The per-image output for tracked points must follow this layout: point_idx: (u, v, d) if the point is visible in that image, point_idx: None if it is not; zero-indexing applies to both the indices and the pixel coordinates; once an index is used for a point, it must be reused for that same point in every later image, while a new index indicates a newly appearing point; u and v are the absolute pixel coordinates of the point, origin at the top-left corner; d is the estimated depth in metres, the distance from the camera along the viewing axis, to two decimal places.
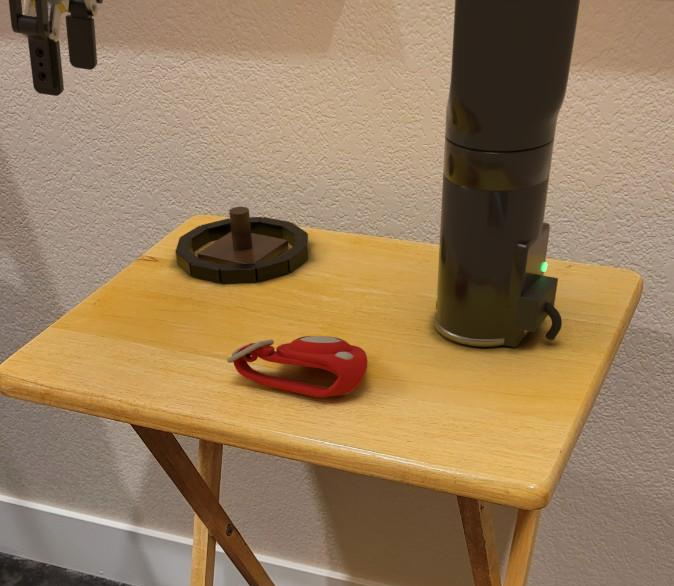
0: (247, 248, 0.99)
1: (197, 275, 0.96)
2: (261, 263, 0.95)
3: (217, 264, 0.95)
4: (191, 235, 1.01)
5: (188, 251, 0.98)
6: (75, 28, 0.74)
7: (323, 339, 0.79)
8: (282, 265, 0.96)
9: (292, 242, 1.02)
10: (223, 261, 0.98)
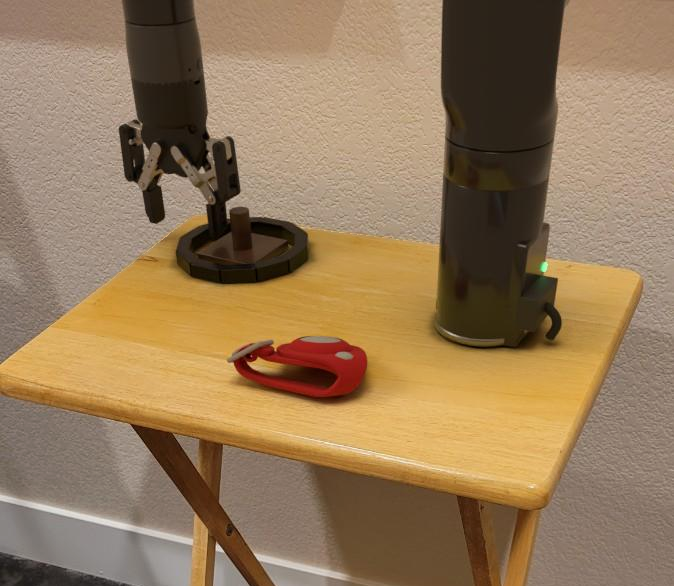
0: (247, 248, 0.99)
1: (197, 275, 0.96)
2: (261, 263, 0.95)
3: (217, 264, 0.95)
4: (191, 235, 1.01)
5: (188, 251, 0.98)
6: None
7: (323, 339, 0.79)
8: (282, 265, 0.96)
9: (292, 242, 1.02)
10: (223, 261, 0.98)
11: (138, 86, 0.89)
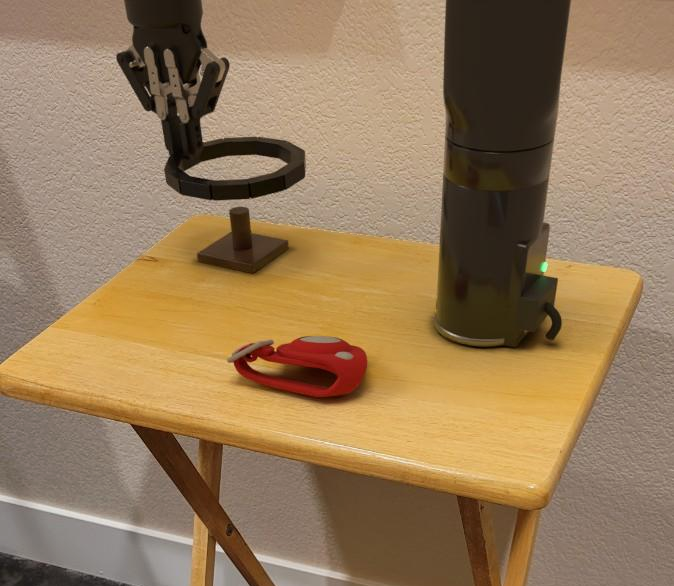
0: (247, 248, 0.99)
1: (186, 193, 0.90)
2: (255, 178, 0.89)
3: (208, 180, 0.89)
4: (181, 154, 0.96)
5: (178, 168, 0.92)
6: None
7: (323, 339, 0.79)
8: (277, 181, 0.90)
9: (288, 161, 0.96)
10: (223, 261, 0.98)
11: None
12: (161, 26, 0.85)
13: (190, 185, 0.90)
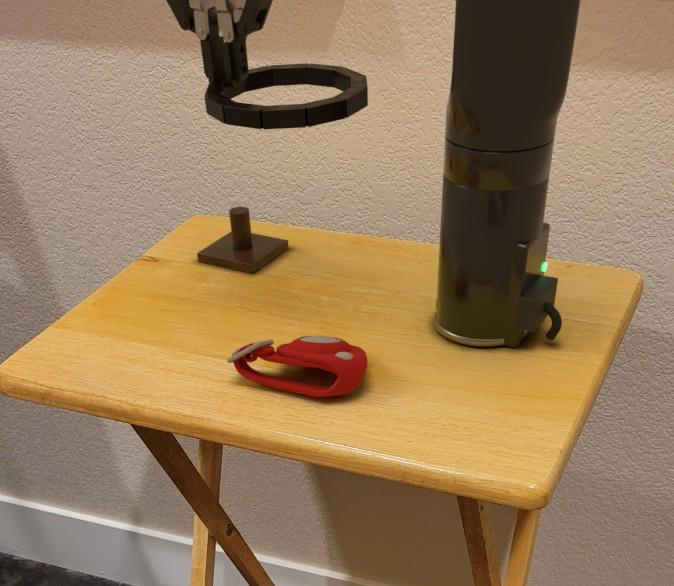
0: (247, 248, 0.99)
1: (231, 122, 0.78)
2: (312, 103, 0.76)
3: (257, 105, 0.77)
4: (223, 81, 0.83)
5: (220, 95, 0.79)
6: None
7: (323, 339, 0.79)
8: (338, 106, 0.77)
9: (347, 89, 0.83)
10: (223, 261, 0.98)
11: None
12: None
13: (236, 111, 0.77)
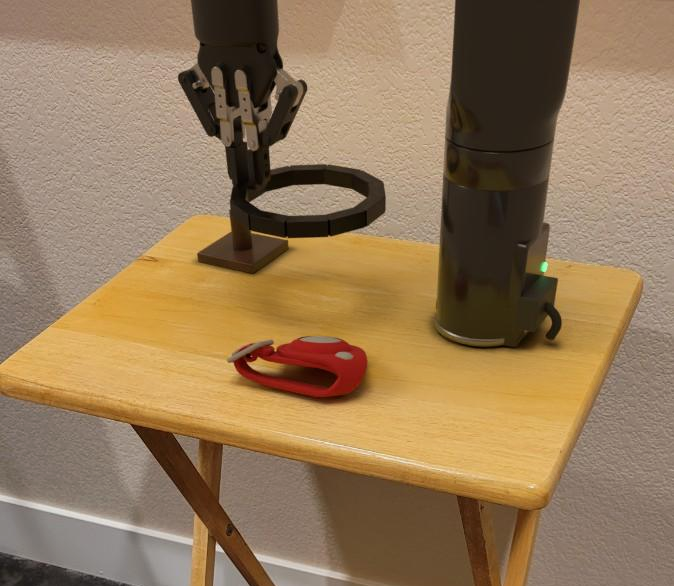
0: (247, 248, 0.99)
1: (257, 229, 0.81)
2: (334, 214, 0.80)
3: (282, 215, 0.80)
4: (246, 184, 0.86)
5: (245, 201, 0.83)
6: None
7: (323, 339, 0.79)
8: (358, 217, 0.81)
9: (364, 193, 0.87)
10: (223, 261, 0.98)
11: None
12: (235, 45, 0.76)
13: (262, 221, 0.80)
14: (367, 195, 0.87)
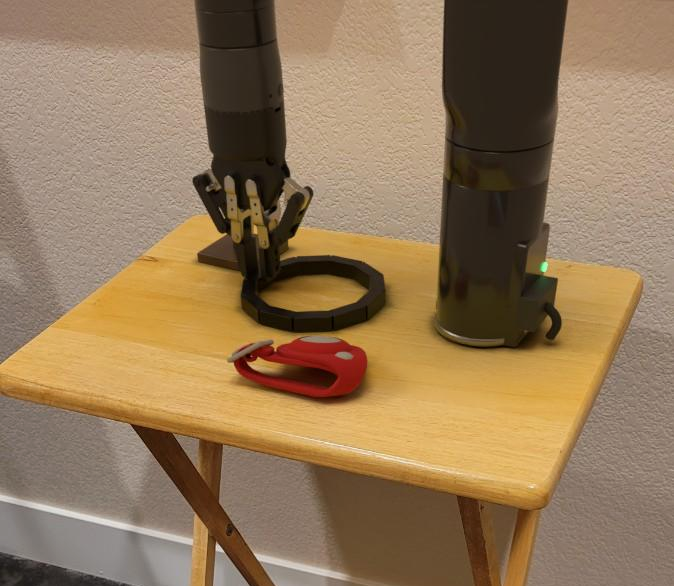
0: None
1: (266, 323, 0.88)
2: (337, 310, 0.87)
3: (289, 311, 0.87)
4: (256, 276, 0.93)
5: (255, 295, 0.90)
6: None
7: (323, 339, 0.79)
8: (360, 312, 0.87)
9: (365, 284, 0.93)
10: (223, 261, 0.98)
11: (213, 115, 0.81)
12: (246, 160, 0.82)
13: (270, 316, 0.87)
14: (368, 286, 0.93)
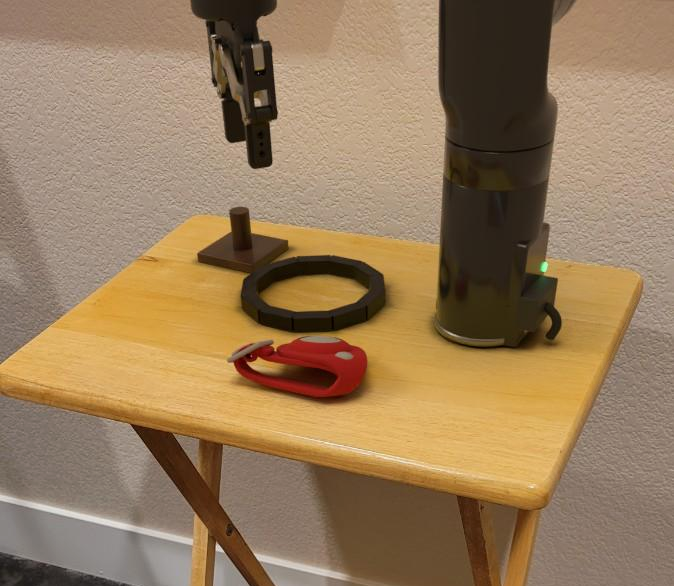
0: (247, 248, 0.99)
1: (266, 323, 0.88)
2: (337, 310, 0.87)
3: (289, 311, 0.87)
4: (256, 276, 0.93)
5: (255, 295, 0.90)
6: (231, 110, 0.86)
7: (323, 339, 0.79)
8: (360, 312, 0.87)
9: (365, 284, 0.93)
10: (223, 261, 0.98)
11: None
12: None
13: (270, 316, 0.87)
14: (368, 286, 0.93)
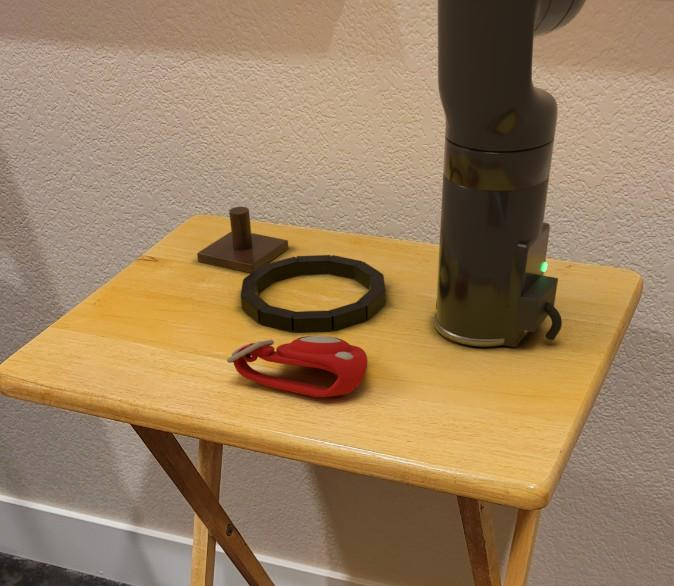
0: (247, 248, 0.99)
1: (266, 323, 0.88)
2: (337, 310, 0.87)
3: (289, 311, 0.87)
4: (256, 276, 0.93)
5: (255, 295, 0.90)
6: None
7: (323, 339, 0.79)
8: (360, 312, 0.87)
9: (365, 284, 0.93)
10: (223, 261, 0.98)
11: None
12: None
13: (270, 316, 0.87)
14: (368, 286, 0.93)
